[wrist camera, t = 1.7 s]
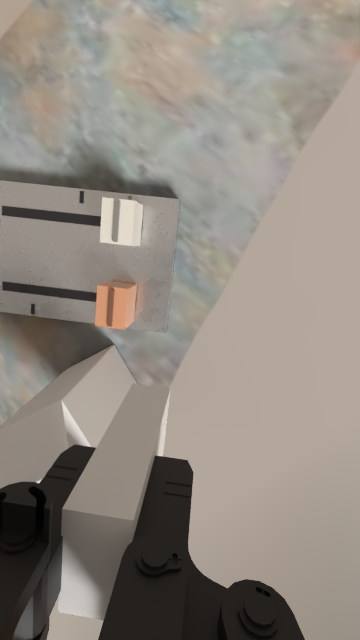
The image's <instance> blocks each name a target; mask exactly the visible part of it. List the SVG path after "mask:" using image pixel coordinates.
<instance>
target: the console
mask: <svg viewBox="0 0 360 640" xmlns="http://www.w3.org/2000/svg"><path fill="white" fill-rule="evenodd" d="M102 197H106V198H115V199H125V200H134V201H137V202H138V203H140V204H142V205H143V216H142V229H141V241H140V246H127V245H118V244H110V243H101V242H100V228H101V210H102ZM180 204H181V201H180V200H179V199H173V198H164V197H154V196H145V195H135V194H126V193H116V192H107V191H97V190H88V189H78V188H69V187H59V186H50V185H40V184H30V183H21V182H11V181H2V180H0V312H6V313H14V314H21V315H29V316H37V317H45V318H53V319H60V320H68V321H76V322H84V323H91V324H95V317H96V299H97V285H99V284H102V283H105V282H108V281H115V282H123V283H131V284H137V290H136V302H135V314H134V321H133V322H132V323H131V324H130V325H129V326H128V327H127V328H130V329H138V330H146V331H154V332H161V333H165V332H166V331H167V328H168V319H169V309H170V299H171V290H172V280H173V271H174V261H175V252H176V242H177V232H178V223H179V213H180Z"/></svg>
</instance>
